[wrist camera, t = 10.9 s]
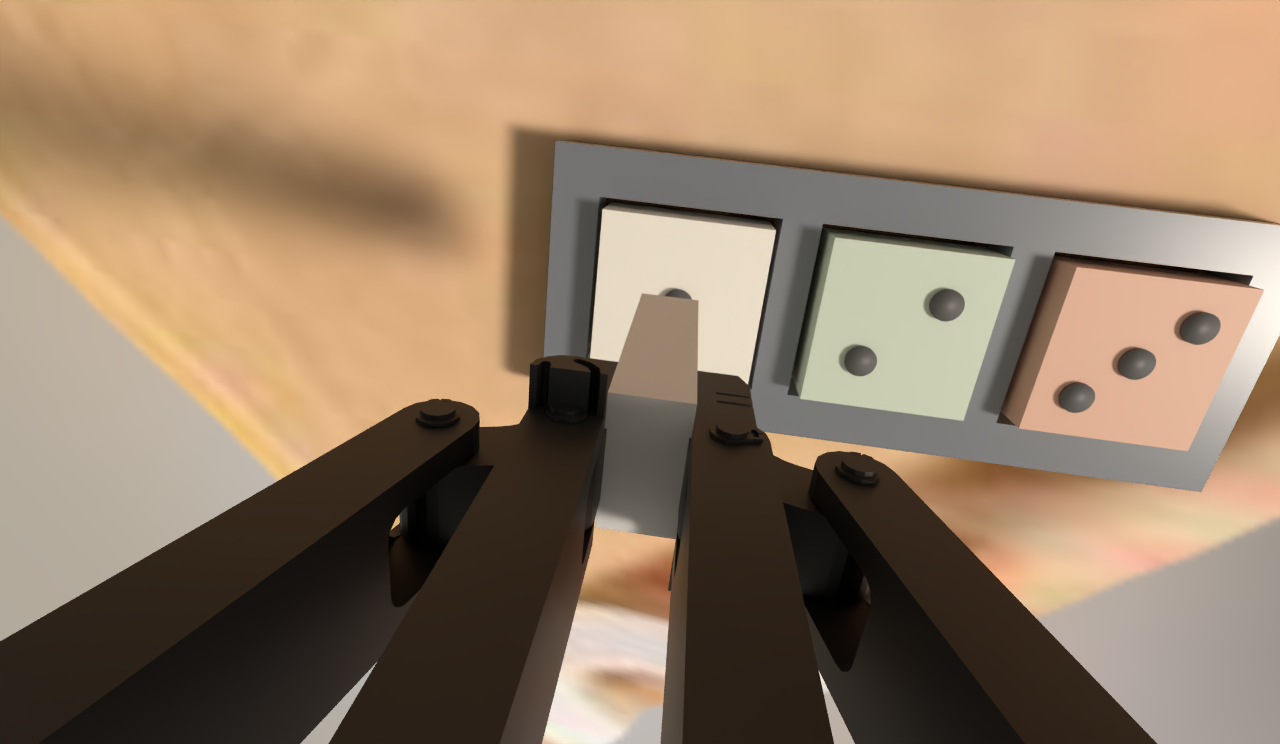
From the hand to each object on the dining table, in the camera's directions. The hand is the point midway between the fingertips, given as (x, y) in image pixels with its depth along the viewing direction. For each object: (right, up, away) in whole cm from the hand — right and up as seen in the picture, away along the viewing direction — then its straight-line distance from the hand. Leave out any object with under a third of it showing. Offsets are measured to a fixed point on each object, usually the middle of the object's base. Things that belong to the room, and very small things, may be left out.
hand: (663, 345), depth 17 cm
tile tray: (+9, +2, +8) cm, 12 cm away
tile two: (+9, +2, +8) cm, 12 cm away
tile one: (+1, +3, +8) cm, 9 cm away
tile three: (+17, 0, +7) cm, 18 cm away
